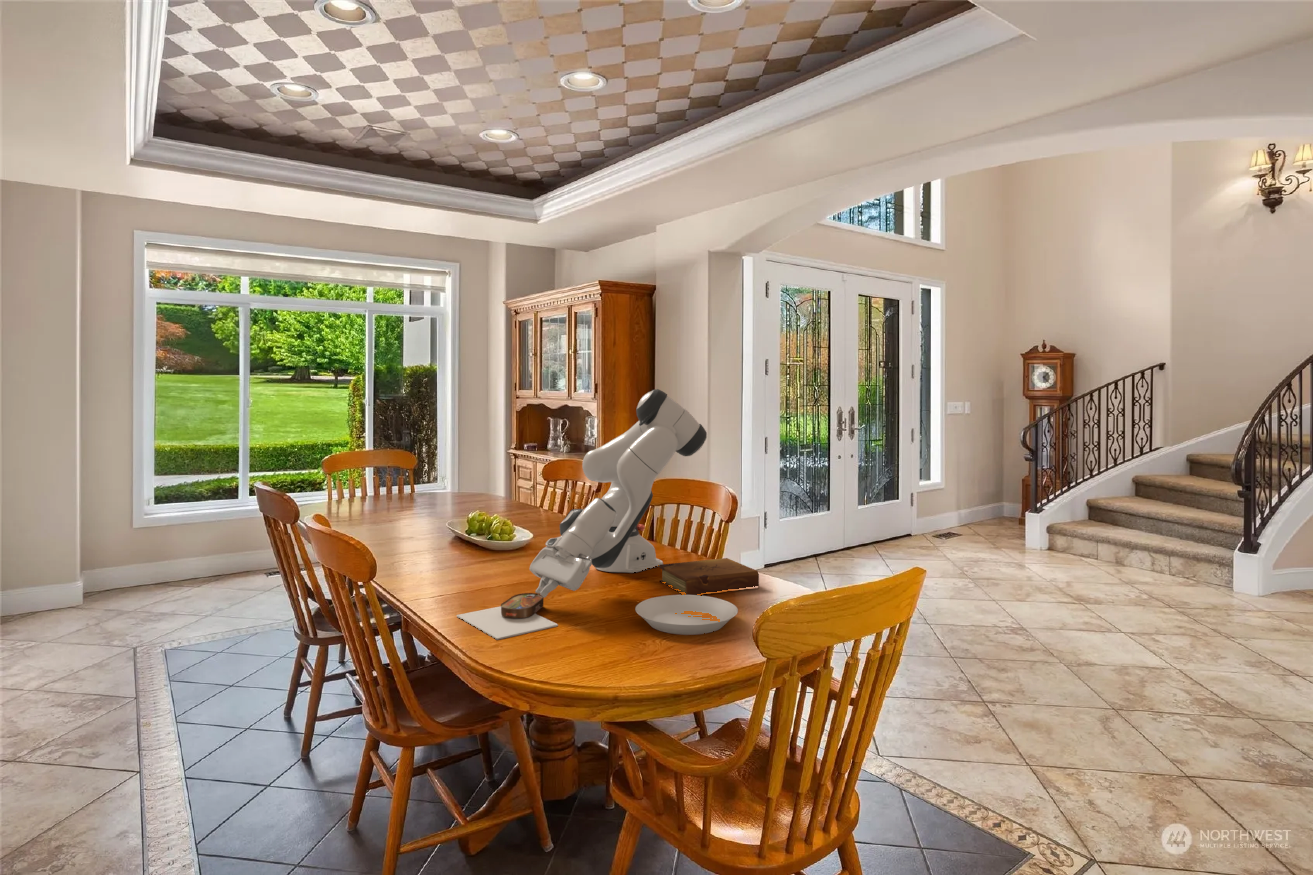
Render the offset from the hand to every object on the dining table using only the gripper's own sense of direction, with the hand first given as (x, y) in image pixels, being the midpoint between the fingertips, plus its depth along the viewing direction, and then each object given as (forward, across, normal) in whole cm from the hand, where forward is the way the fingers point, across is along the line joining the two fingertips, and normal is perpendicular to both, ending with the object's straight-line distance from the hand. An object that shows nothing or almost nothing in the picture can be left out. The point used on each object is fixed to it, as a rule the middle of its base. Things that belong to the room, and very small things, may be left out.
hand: (539, 595), depth 181 cm
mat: (+10, 0, +3) cm, 11 cm away
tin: (+2, +1, -2) cm, 3 cm away
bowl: (-14, -28, -21) cm, 38 cm away
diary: (-33, -6, -41) cm, 53 cm away
